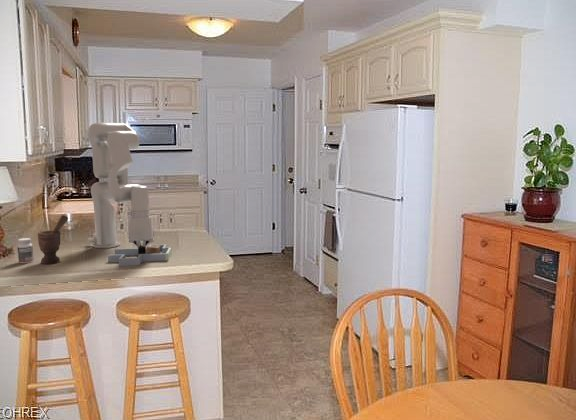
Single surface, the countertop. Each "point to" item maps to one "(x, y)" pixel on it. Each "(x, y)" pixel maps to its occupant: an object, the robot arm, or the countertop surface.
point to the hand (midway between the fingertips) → (142, 255)
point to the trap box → (139, 256)
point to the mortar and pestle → (51, 242)
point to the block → (153, 249)
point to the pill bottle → (25, 250)
